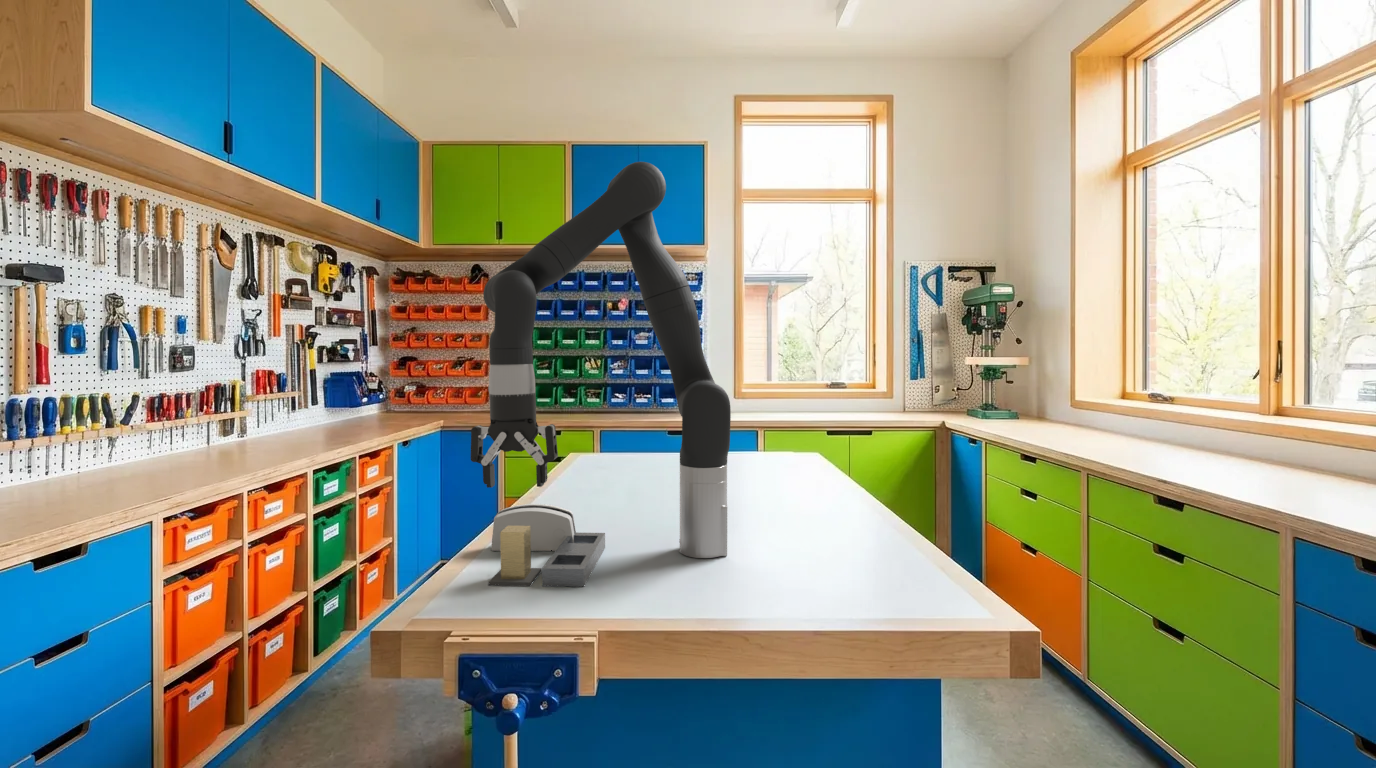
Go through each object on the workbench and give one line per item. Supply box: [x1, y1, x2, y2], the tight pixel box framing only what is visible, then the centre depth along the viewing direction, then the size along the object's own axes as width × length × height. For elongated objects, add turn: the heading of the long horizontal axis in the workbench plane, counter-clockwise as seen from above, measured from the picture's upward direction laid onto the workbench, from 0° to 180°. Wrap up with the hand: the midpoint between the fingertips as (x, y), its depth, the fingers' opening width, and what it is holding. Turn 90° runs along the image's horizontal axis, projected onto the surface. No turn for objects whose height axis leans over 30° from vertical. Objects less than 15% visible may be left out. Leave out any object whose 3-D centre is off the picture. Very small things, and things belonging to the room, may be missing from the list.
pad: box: [488, 567, 542, 587], centre depth 109 cm, size 7×7×1 cm
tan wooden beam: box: [500, 526, 532, 579], centre depth 109 cm, size 4×4×8 cm
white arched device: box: [490, 503, 577, 552], centre depth 126 cm, size 17×5×10 cm, turn 92°
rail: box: [541, 532, 606, 588], centre depth 116 cm, size 7×21×3 cm, turn 178°
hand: (515, 486), depth 108 cm, fingers open, 8 cm apart
